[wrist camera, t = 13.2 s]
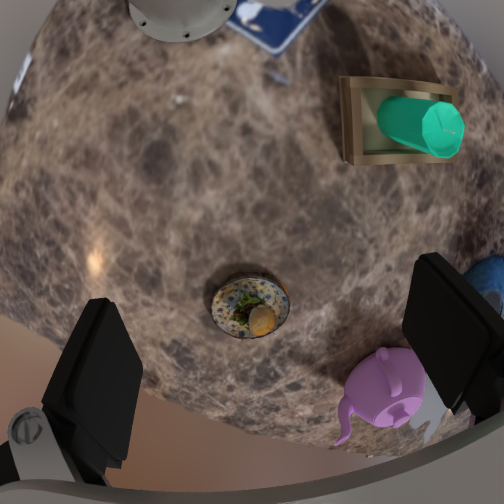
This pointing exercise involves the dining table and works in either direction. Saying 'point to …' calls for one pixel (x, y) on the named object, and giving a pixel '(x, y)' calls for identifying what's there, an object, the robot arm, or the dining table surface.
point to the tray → (365, 119)
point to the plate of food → (250, 305)
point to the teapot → (383, 389)
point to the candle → (422, 124)
